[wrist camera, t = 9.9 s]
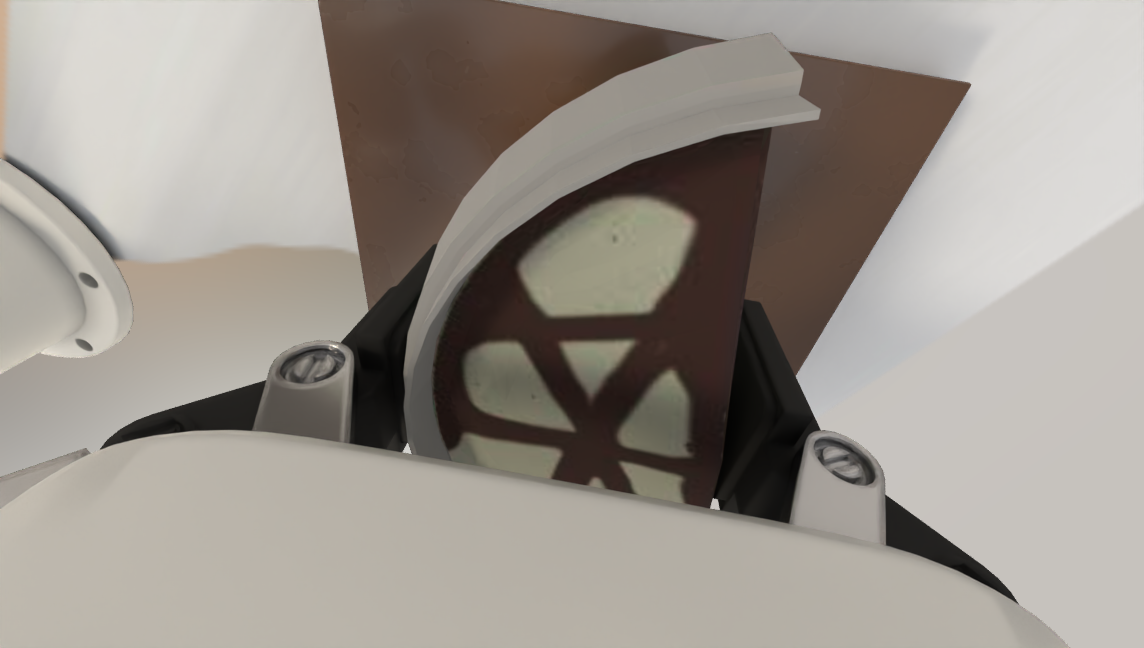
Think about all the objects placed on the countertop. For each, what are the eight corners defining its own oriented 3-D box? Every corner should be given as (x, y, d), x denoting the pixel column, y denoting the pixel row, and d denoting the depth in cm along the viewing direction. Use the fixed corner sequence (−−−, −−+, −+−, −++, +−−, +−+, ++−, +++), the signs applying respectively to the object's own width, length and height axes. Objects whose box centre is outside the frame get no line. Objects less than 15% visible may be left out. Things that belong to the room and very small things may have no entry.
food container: (477, 47, 13) (192, 97, 4) (694, 26, 12) (837, 37, 4) (534, 369, 20) (464, 617, 11) (672, 370, 19) (704, 640, 11)
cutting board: (383, 302, 22) (369, 319, 20) (339, -28, 14) (311, -33, 13) (776, 373, 21) (785, 394, 20) (943, 77, 14) (973, 83, 13)
